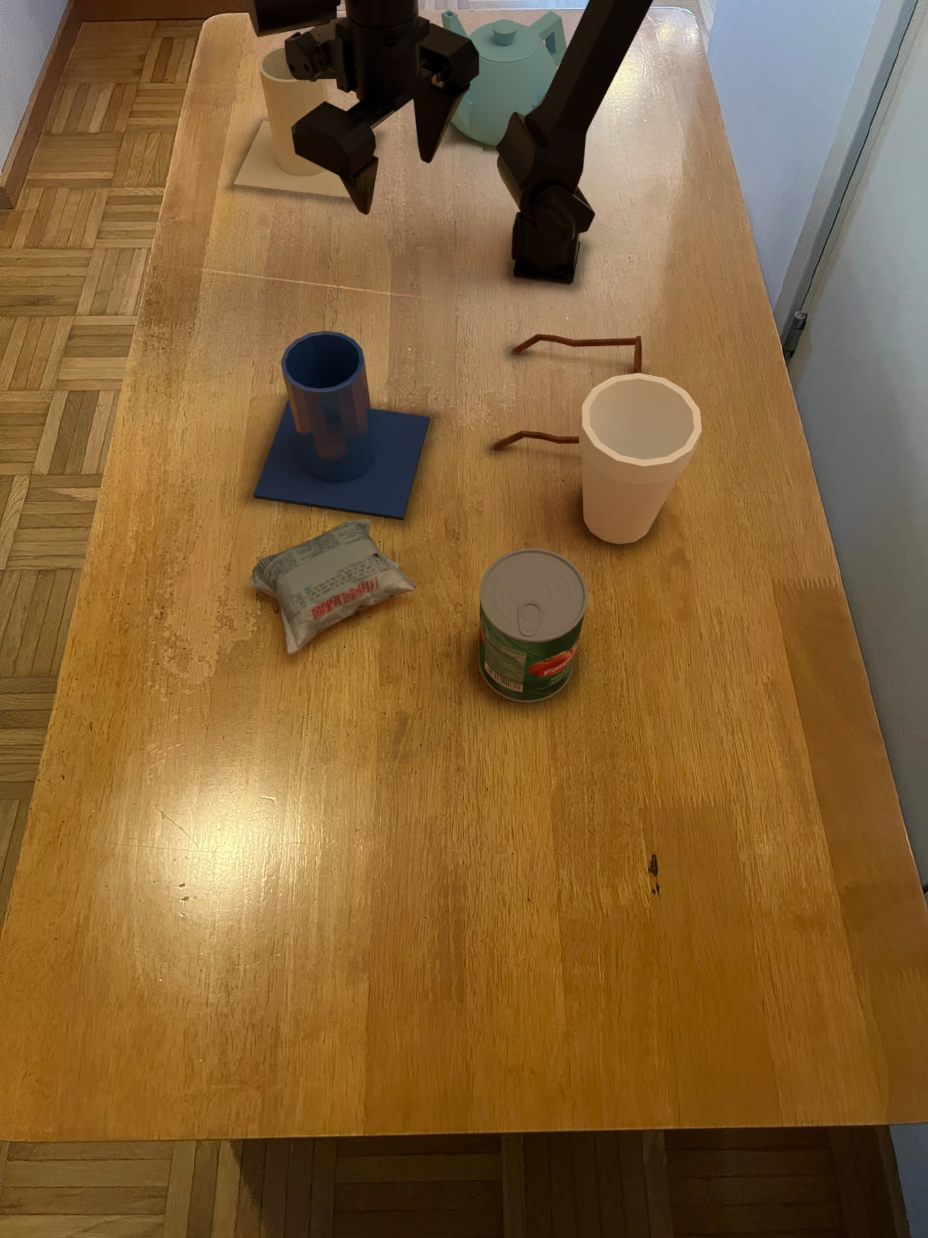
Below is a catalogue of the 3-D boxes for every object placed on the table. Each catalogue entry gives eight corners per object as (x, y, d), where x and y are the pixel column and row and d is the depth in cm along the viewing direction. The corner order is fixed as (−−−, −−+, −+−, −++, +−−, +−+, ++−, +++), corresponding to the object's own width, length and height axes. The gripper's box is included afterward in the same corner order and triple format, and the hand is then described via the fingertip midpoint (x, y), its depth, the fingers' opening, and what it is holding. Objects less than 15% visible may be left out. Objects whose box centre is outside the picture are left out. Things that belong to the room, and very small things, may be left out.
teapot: (567, 158, 109) (576, 66, 99) (438, 157, 109) (436, 65, 100) (563, 81, 116) (571, -12, 107) (442, 80, 116) (440, -13, 107)
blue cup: (370, 420, 89) (357, 325, 79) (381, 476, 86) (369, 384, 75) (299, 432, 88) (277, 337, 78) (308, 488, 85) (286, 397, 75)
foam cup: (678, 486, 86) (710, 387, 74) (661, 568, 81) (692, 476, 70) (577, 464, 87) (593, 363, 76) (555, 544, 83) (569, 450, 71)
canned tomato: (485, 612, 79) (488, 540, 70) (578, 625, 79) (593, 554, 69) (471, 696, 75) (471, 632, 66) (567, 710, 75) (582, 648, 65)
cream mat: (376, 135, 111) (376, 132, 111) (352, 200, 105) (352, 197, 105) (263, 123, 112) (263, 120, 112) (234, 186, 107) (233, 183, 106)
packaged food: (418, 603, 80) (414, 572, 75) (292, 666, 77) (281, 637, 73) (371, 531, 83) (365, 498, 79) (249, 589, 81) (237, 557, 76)
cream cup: (341, 142, 110) (329, 47, 100) (327, 179, 107) (313, 84, 97) (286, 136, 110) (268, 41, 101) (270, 172, 107) (250, 77, 98)
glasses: (631, 468, 87) (640, 432, 82) (493, 450, 88) (494, 414, 83) (641, 364, 93) (650, 326, 89) (512, 349, 94) (514, 311, 90)
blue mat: (429, 419, 90) (429, 416, 89) (403, 519, 84) (403, 517, 84) (289, 399, 91) (288, 396, 91) (254, 497, 85) (253, 494, 85)
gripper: (378, -73, 79) (391, 106, 92) (224, 27, 72) (263, 205, 85) (484, -31, 76) (481, 148, 89) (333, 78, 68) (356, 254, 82)
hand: (395, 186), depth 86 cm, fingers open, 9 cm apart
